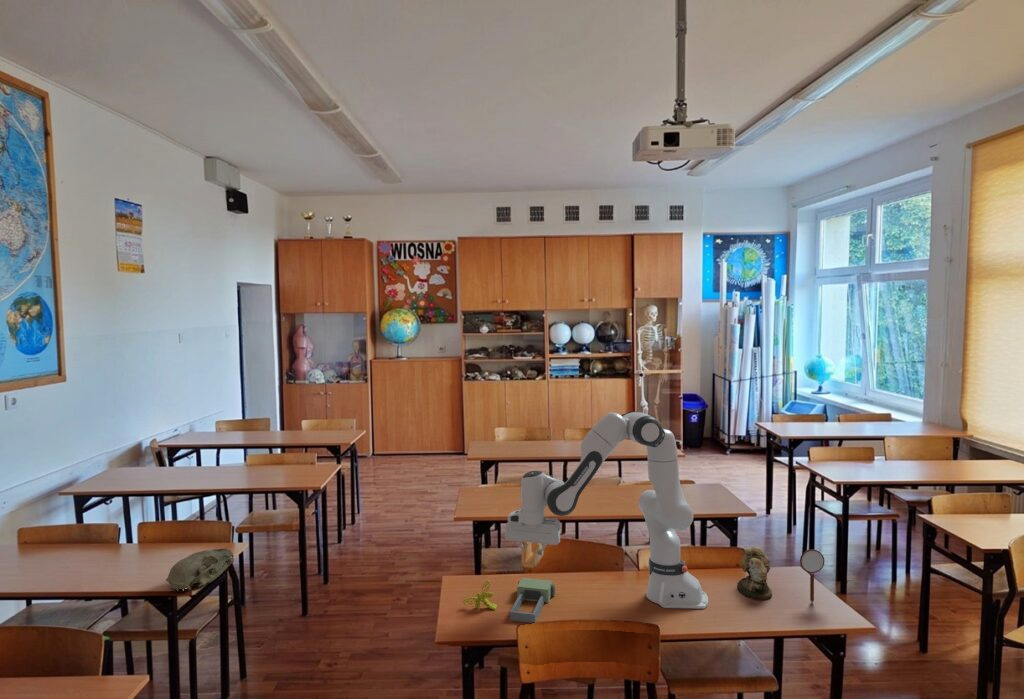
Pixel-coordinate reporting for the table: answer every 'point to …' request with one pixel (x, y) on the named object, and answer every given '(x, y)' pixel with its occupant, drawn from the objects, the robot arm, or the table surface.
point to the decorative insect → (482, 598)
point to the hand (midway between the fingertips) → (532, 553)
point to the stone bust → (755, 574)
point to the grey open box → (531, 598)
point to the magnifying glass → (812, 566)
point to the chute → (531, 555)
